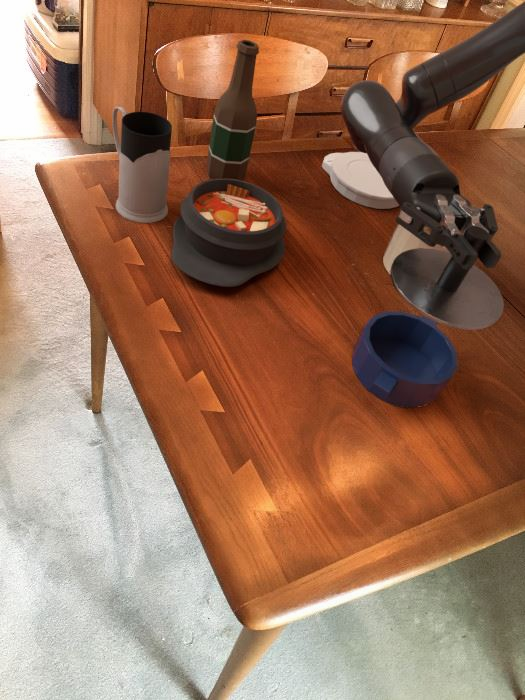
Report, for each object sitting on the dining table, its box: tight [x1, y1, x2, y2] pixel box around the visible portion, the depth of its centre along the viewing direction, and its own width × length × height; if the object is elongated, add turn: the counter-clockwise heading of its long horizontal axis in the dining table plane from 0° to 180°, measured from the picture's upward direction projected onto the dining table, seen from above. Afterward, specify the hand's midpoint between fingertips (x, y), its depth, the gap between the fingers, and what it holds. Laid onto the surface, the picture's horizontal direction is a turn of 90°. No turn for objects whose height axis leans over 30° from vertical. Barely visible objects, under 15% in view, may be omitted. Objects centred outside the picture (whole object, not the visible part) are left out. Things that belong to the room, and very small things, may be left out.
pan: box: [351, 310, 459, 408], centre depth 79 cm, size 14×19×5 cm
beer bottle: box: [206, 39, 260, 181], centre depth 99 cm, size 8×8×24 cm
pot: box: [382, 223, 450, 275], centre depth 96 cm, size 14×14×10 cm
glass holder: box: [112, 106, 173, 224], centre depth 91 cm, size 9×14×15 cm, turn 39°
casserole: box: [170, 178, 287, 288], centre depth 89 cm, size 25×19×8 cm
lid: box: [321, 151, 400, 210], centre depth 116 cm, size 17×20×3 cm
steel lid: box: [389, 226, 505, 331], centre depth 67 cm, size 15×15×9 cm
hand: (483, 262), depth 63 cm, fingers closed on steel lid, 2 cm apart
